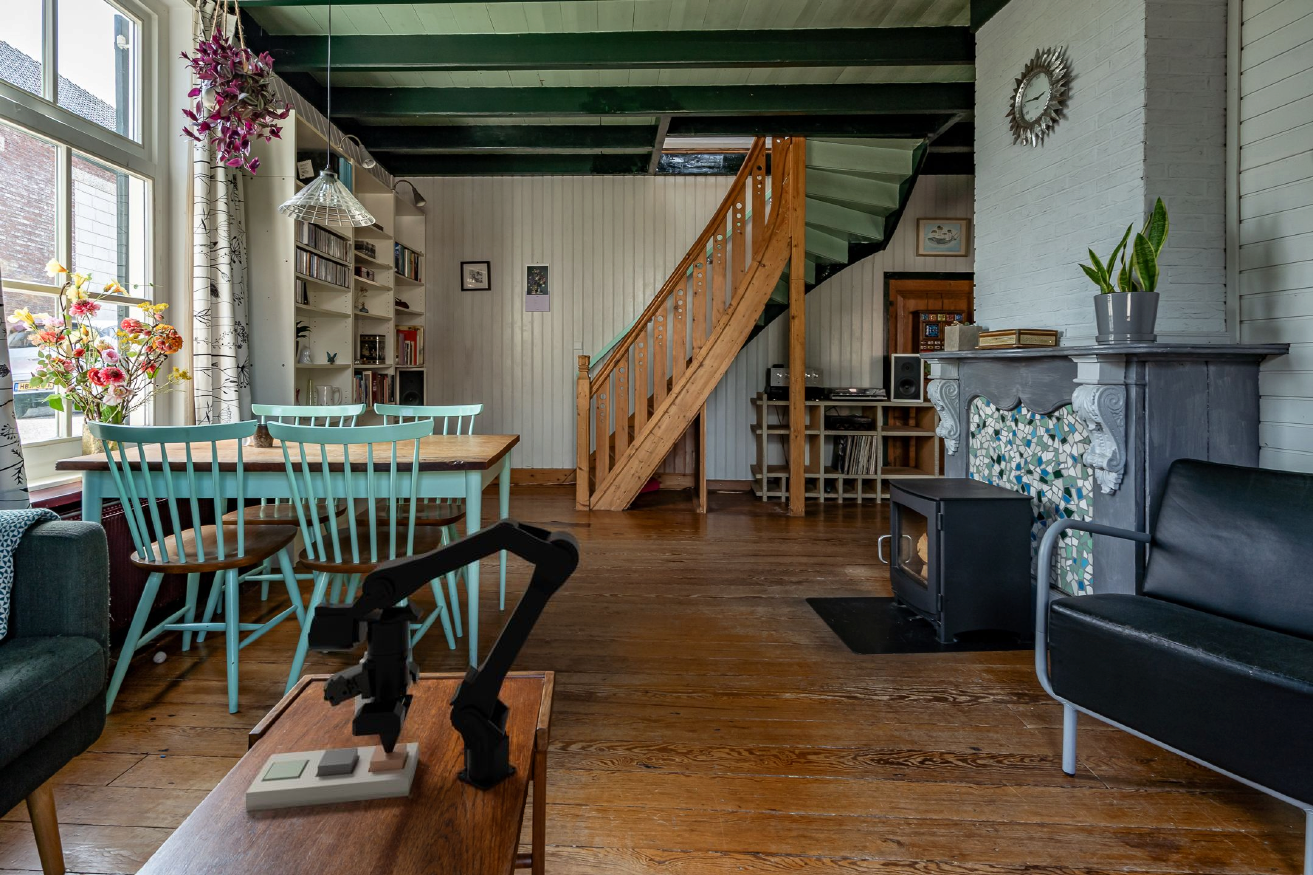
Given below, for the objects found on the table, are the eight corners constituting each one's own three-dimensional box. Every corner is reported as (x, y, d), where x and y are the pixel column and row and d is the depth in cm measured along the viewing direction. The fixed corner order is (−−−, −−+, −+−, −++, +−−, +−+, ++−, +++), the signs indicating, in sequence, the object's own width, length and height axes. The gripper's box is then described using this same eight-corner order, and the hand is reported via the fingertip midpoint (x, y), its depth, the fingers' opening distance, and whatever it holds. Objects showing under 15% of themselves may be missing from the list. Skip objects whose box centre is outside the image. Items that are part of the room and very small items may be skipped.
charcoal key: (357, 760, 102) (357, 747, 102) (350, 776, 98) (350, 763, 97) (326, 762, 101) (326, 749, 101) (317, 779, 97) (317, 765, 97)
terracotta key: (406, 756, 103) (406, 743, 103) (402, 772, 99) (402, 758, 99) (376, 758, 102) (376, 745, 102) (370, 774, 98) (369, 761, 98)
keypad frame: (418, 758, 106) (418, 742, 106) (408, 795, 97) (408, 777, 96) (272, 770, 102) (271, 754, 102) (246, 811, 92) (245, 792, 92)
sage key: (307, 772, 100) (307, 759, 100) (298, 789, 96) (297, 775, 96) (275, 775, 100) (274, 761, 99) (264, 792, 95) (263, 778, 95)
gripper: (345, 629, 107) (346, 725, 108) (309, 678, 89) (311, 793, 90) (419, 625, 109) (419, 719, 110) (399, 673, 91) (400, 785, 92)
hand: (389, 751), depth 101 cm, fingers closed
